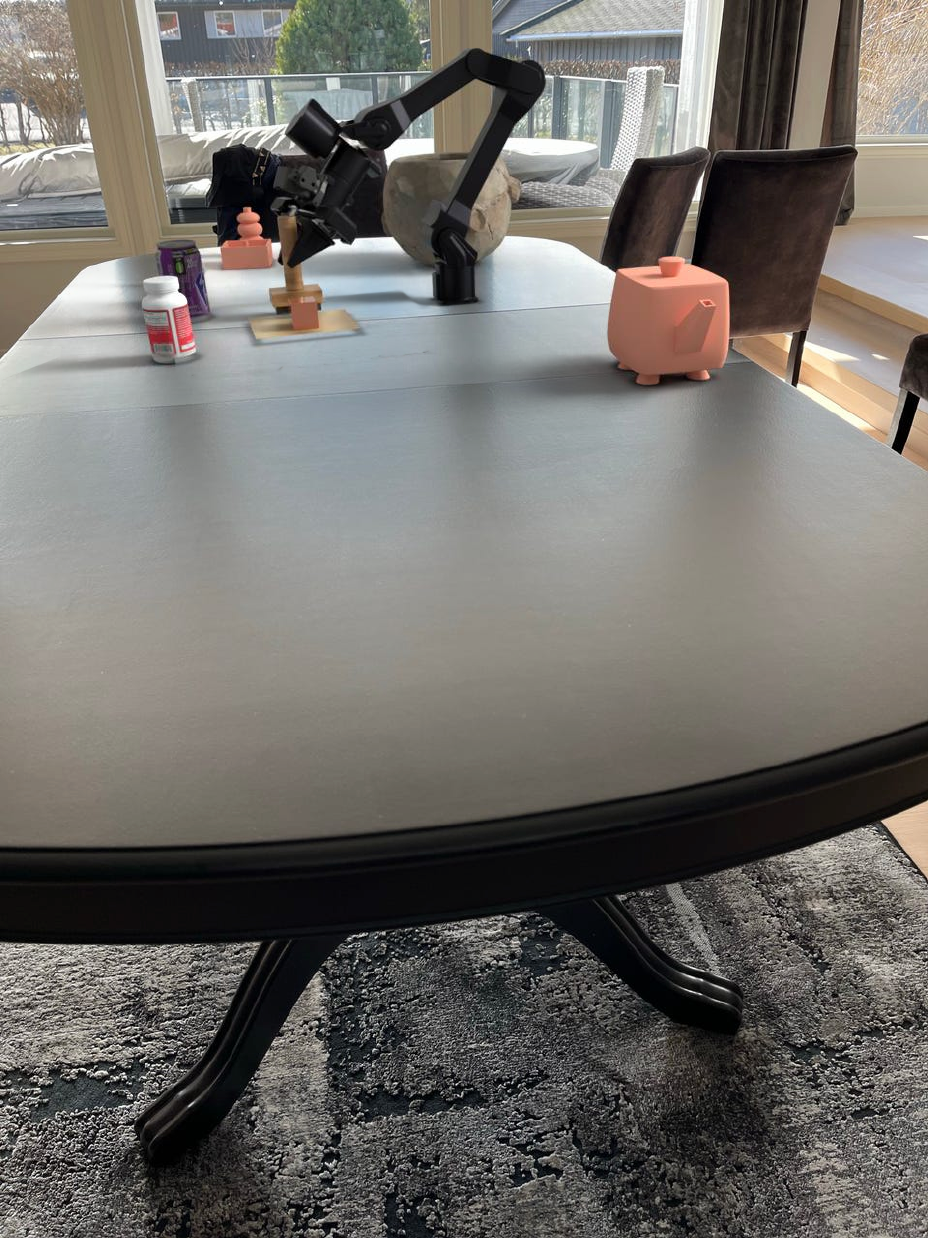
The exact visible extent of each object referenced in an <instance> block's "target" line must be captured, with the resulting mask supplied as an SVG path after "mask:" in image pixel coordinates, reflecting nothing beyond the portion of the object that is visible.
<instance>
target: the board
mask: <svg viewBox="0 0 928 1238" xmlns="http://www.w3.org/2000/svg"><path fill="white" fill-rule="evenodd" d="M318 318H319V328H316V329H306V330H296V331H294V330H293V328H292V327H291V325H290V318H289V313H287V314H276V315H266V316H254V317H247V321H248V323H249V326H250V328H251V330H252V334H253V335H254V337H255V339H256V340H259V339H268V338H280V337H289V336H299V335H307V334H308V335H309V334H320V333H329V332H338V331H350V330H359V329H361V327H360V325H359V324H358V323H357V322H356V321H355V319H354V318H353V316H351V315H350V313H349V312H348V311H347V309H345V308H341V309H340V308H339V309H329V310H318Z"/></svg>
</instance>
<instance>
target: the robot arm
mask: <svg viewBox="0 0 928 1238" xmlns="http://www.w3.org/2000/svg"><path fill="white" fill-rule="evenodd" d="M545 73H546V72H545V70H544V68H543V66H542V65H541V64H540V63H539V62H538V61H536V60H534V59H510V58H506V57H504V56H500V55H497V54H493V53H491V52H488V51H485V50H483V49H481V48H480V47H470V48H465V49H463V50H462V51H461V53H459V55H458V56H457V57H454V58H453V59H451V61H449V62H447V63H446V64H444V65H443V66H441V67H440V68H438V69H436V70H435V71H434V72H432V73H430V74H429V75H428V76H427V77H425V78H423V79H422V80H420V81H419V82H417V83H416V84H414V85H413V86H411V87H410V88H408V89H407V90H405V91H404V92H403V93H401V94H398V95H396V96H394V97H392V98H388V99H386V100H383V101H380V102H377V103H375V104H373V105H370V106H368V107H365V108H362V109H361V110H360V111H359V112H357V114H356V115H355V116H354V118H352V119H349V120H341V121H340V122H338V121H337V120H335V118H334V117H332V115H330V114H329V113H328V112H327V111H326V110H325V109H324V108H323V107H322V105H321V104H320V102H319V101H318V100H316V98H310V99H308V101H307V102H306V104H304V105H303V107H302V108H301V109H300V110H299V111H298V113H295V114H294V116H293V117H292V118H291V120H290V122H289V123H288V125H287V126H286V129H285V130H284V133H283V134H284V136H286V137H287V138H288V139H289V141H291V142H292V143H293V144H294V145H295V146H297V147H298V148H299V149H300V150H301V151H302V152H303V153H304V154H305V155H307V157H309V158H310V159H311V160H312V161H316V160H317V159H318V158H320V159H321V160H322V161H325V160H326V159H327V158H328V157H329V156H330V155H331V156H330V158H328V160H327V162H326V164H325V165H324V166H323V168H322V169H321V172H320V173H317V170H316V169H315V168H313V167H311V166H309V165H301V166H300V167H299V168H298V169H296V168H292V167H288V166H281V165H278V166H277V169H276V174H275V177H274V181H273V189H276V190H278V191H280V190H282V191H284V192H286V193H289V194H290V195H293V196H294V198H290V197H285V196H280V197H275V199H274V201H273V202H272V203H271V205H270V207H269V208H270V210H271V211H272V212H273V213H274V214H275V215H277V217H279V216H286V215H293V216H295V217H296V225H297V234H298V240H297V242H296V244H295V246H294V248H293V250H292V252H291V254H290V256H289V258H288V261H287V265H288V266H289V267H290V268H294V267H295V266H297V265H299V264H300V263H301V264H302V263H303V262H305V261H307V260H309V259H311V258H312V257H313V256H315V255H317V254H319V253H321V252H323V251H325V250H326V249H328V248H330V247H332V246H333V247H334V246H335V245H336V243H337V242H336V241H335V240H334V238H335V237H336V235H337V234H338V235H339V236H340V238H339V242H341V244H343V245H348V246H352V245H353V243H354V242H355V240H356V239H357V237H358V226H357V224H355V223H354V222H353V221H352V220H351V219H350V217H348V216H347V215H346V214H345V213H344V212H343V210H344V208H345V207H346V206H347V207H352V206H353V204H354V202H355V200H354V198H353V197H352V196H353V195H354V194H355V192H356V190H357V188H358V187H359V186H360V184H361V183H362V180H363V179H364V177H365V176H366V174H367V175H368V176H369V177H370V178H372V179H374V178H377V177H380V176H382V175H383V171H382V167H381V164H380V158H379V156H377V157H371V156H370V155H369V154H368V153H366V151H364V149H363V148H361V147H360V146H359V145H361V146H362V147H364V148H366V149H369V150H372V151H375V152H382V151H383V152H384V151H385V150H387V149H389V148H390V147H392V145H393V144H394V143H395V142H396V141H397V140H399V139H400V137H401V136H402V135H404V133H406V131H407V130H408V128H409V127H410V126H411V125H412V123H414V122H415V121H416V120H417V119H418V118H419V117H421V116H422V115H424V114H425V113H427V112H428V111H429V110H431V109H432V108H434V107H435V106H437V105H439V104H440V103H442V102H443V101H444V100H447V98H448V99H449V97H450V96H452V95H454V94H455V93H457V92H458V91H459V90H461V89H463V88H464V87H466V86H467V85H469V84H470V83H472V82H473V81H475V80H477V81H479V82H482V83H483V84H487V85H489V86H492V87H493V88H494V89H493V91H492V99H491V106H490V111H489V113H488V116H487V118H486V120H485V122H484V124H483V125H482V127H481V128H480V129H481V130H480V132H479V134H478V136H477V138H476V140H475V142H474V143H473V146H472V147H471V149H470V151H469V152H470V153H469V155H468V157H467V159H466V161H465V163H464V165H463V167H462V169H461V171H460V173H459V175H458V177H457V179H456V181H455V183H454V185H453V187H452V189H451V191H450V193H449V194H448V196H447V197H446V198H445V199H444V200H443V201H442V202H441V203H440V202H438V201H436V200H432V201H431V203H430V206H429V209H428V212H427V214H426V216H425V217H424V218H423V219H422V220H421V223H423V227H422V230H421V237H422V241H423V243H424V245H425V246H426V247H427V248H428V249H429V250H431V251H432V253H433V255H434V258H435V259H436V260H438V261H440V262H435V267H434V271H432V273H431V279H432V297H433V298H434V300H436V301H437V302H438V303H440V304H441V305H443V306H445V305H455V304H465V303H474V302H479V297H477V296H476V272H475V271H476V270H475V269H476V268H475V265H476V263H477V262H476V259H477V256H478V252H477V251H476V250H475V249H474V248H472V247H471V246H470V245H469V244H468V243H467V242H466V241H465V238H466V235H467V232H468V229H469V224H470V218H471V211H472V208H473V205H474V203H475V201H476V200H477V198H478V196H479V194H480V192H481V190H482V188H483V186H484V184H485V182H486V180H487V178H488V176H489V174H490V172H491V170H492V169H493V167H494V165H495V163H496V161H497V159H498V157H499V155H501V153H502V151H503V149H504V147H505V145H506V143H507V142H508V139H509V137H510V136H511V134H512V132H513V129H514V128H515V126H516V125H517V124H518V123H519V122H520V121H521V120H522V119H523V118H524V117H525V116H526V115H527V114H528V113H529V111H531V109H532V108H533V107H534V105H535V104H536V102H537V101H538V100H539V99H540V97H541V96H542V94H543V93H544V91H545V88H546V85H547V78H546V74H545ZM345 139H348V140H351V141H357V143H358V145H356V146H353V145H351V144H350V143H349V142H348V141H346V140H345ZM334 149H335V150H334ZM332 152H333V153H332ZM331 153H332V154H331ZM276 261H277V263H278V264H279V265H280V266H282V267H283V259H282V251H281V248H280V249H279V253H278V256H277V260H276Z"/></svg>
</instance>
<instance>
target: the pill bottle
mask: <svg viewBox="0 0 928 1238" xmlns="http://www.w3.org/2000/svg"><path fill="white" fill-rule="evenodd" d="M142 284H143V290H144V292H145V293H146V295H145V297H143V298H142V302H141V308H142V312H143V318H144V322H145V327H146V332H147V337H148V341H149V347H150V352H151V355H152V359H153V360H154V361H155V362H156V363H159V364H163V365H167V364H169V365H171V364H176V358H181V357H183V358H184V357H186V356H190V355H193V354H195V353H196V351H197V349H196V342H195V337H194V333H193V332H194V331H193V325H192V320H191V318H190V315H189V309H188V304H187V300H186V298H185V296H184V295H183V294H181V293H179V292H178V289H179V283H178V278H177V277H175V276H159V275H158V276H153V277H149V278H145V279H144V280H142Z"/></svg>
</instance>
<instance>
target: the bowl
mask: <svg viewBox="0 0 928 1238" xmlns="http://www.w3.org/2000/svg"><path fill="white" fill-rule="evenodd" d="M469 153H470V151H452V152H451V151H450V152H449V151H447V152H432V153H420V154H412V155H411V154H410V155H406V156H400V157H397V158H394V159H393V160H392V161H391V162H390V164H389V167H388V168H387V172H386V174H385V175H386V176H385V180H384V183H383V190H382V203H383V204H382V205H383V212H382V214H381V218H380V219H381V224H382V229H383V232H384V234H385V235H386V236H387V237H392V238H393V239H394V241H395V242H396V243H397V244H398V245H399V247H400V248H401V249H402V251H403V252H404V253H405V254H407V255H408V256H409V257H410V258H411V259H412V260H413V261H416V262H419V263H420V264H423V265H424V266H428V267H433V268H435V262H440V261H438V260H436V259H435V258H434V255H433V253H432V251H431V250H429V249H428V248H427V247H426V246H425V245H424V243H423V241H422V237H421V230H422V227H423V223H421V220H422V219H423V218H424V217H425V216H426V214H427V212H428V209H429V206H430V203H431V201H432V200H436V201H438V202H440V203H441V202H442V201H443V200H444V199H445V198H446V197H447V196H448V194H449V193H450V191H451V189H452V187H453V185H454V183H455V181H456V179H457V177H458V175H459V173H460V171H461V169H462V167H463V165H464V163H465V161H466V159H467V157H468V155H469ZM521 192H522V182H521V181H520V179H517V178H516V177H513V176H512V175H509V171H508V168H507V165H506V163H505V160H504V158H503V156H502V155H501V154H500V155H499V157H498V159H497V161H496V163H495V165H494V167H493V169H492V170H491V172H490V174H489V176H488V178H487V180H486V182H485V184H484V186H483V188H482V190H481V192H480V194H479V196H478V198H477V200H476V201H475V203H474V205H473V208H472V211H471V218H470V224H469V229H468V232H467V235H466V238H465V241H466V242H467V243H468V244H469V245H470V246H471V247H472V248H474V249H475V250H476V251H477V252H478V256H477V259H476V263H477V262H479V261H481V260H483V259H484V258H487V257H488V256H490V255H491V254H493V253H494V252H495V251H496V249H497V248H499V246H500V245H501V244H502V243H503V241H504V240H505V237H506V235H507V231H508V228H509V223H510V221H511V220H510V219H511V215H512V204H516V203H517V202H518V201H519V199H520V196H521Z"/></svg>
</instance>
